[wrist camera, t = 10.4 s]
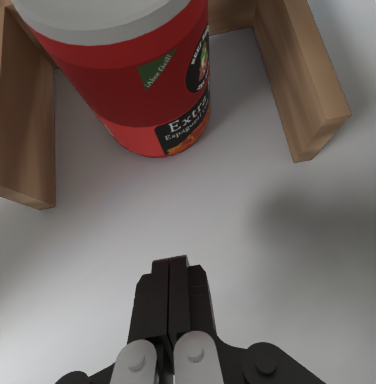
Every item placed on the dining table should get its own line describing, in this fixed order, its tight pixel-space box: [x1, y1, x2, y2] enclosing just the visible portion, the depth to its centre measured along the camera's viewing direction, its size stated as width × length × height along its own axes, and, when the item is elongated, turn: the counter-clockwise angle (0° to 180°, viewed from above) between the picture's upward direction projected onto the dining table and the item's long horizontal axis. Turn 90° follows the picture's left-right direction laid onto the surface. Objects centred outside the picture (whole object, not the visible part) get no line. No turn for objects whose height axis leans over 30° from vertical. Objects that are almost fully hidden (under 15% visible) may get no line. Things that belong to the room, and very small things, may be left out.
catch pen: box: [0, 0, 352, 210], centre depth 18 cm, size 19×14×6 cm
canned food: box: [11, 0, 210, 158], centre depth 15 cm, size 8×8×11 cm
